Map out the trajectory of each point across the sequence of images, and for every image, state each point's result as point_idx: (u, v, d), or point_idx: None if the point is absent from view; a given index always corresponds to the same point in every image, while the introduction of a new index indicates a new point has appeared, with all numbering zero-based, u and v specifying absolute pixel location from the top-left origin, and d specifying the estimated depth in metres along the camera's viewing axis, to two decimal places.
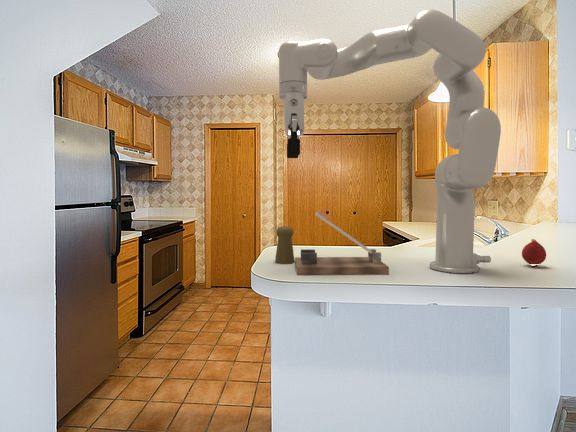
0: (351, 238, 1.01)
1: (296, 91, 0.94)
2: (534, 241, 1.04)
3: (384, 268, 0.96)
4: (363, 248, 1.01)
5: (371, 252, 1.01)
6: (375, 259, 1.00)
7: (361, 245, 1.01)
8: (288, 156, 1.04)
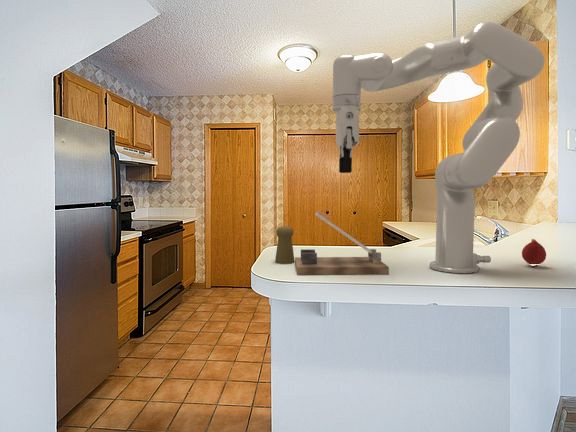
0: (351, 238, 1.01)
1: (351, 104, 0.96)
2: (534, 241, 1.04)
3: (384, 268, 0.96)
4: (363, 248, 1.01)
5: (371, 252, 1.01)
6: (375, 259, 1.00)
7: (361, 245, 1.01)
8: None
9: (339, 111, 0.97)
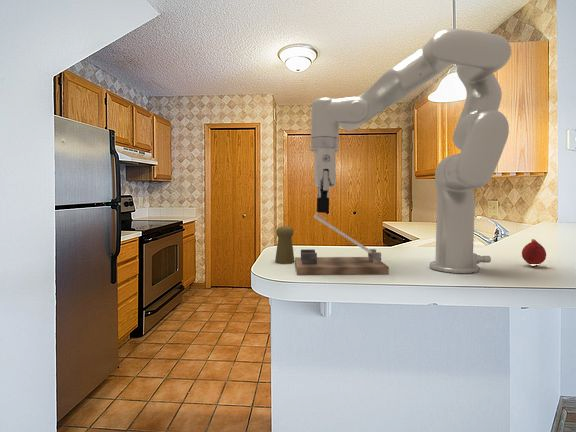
0: (350, 239, 1.01)
1: (328, 146, 0.97)
2: (534, 241, 1.04)
3: (384, 268, 0.96)
4: (363, 248, 1.01)
5: (371, 252, 1.01)
6: (375, 259, 1.00)
7: (361, 246, 1.01)
8: None
9: (316, 153, 0.98)
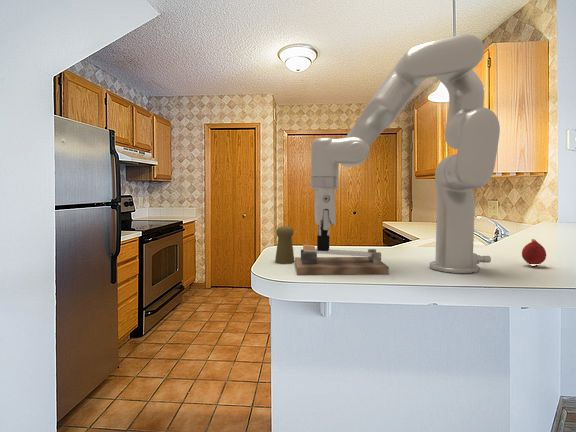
0: (345, 253, 1.01)
1: (328, 186, 0.97)
2: (534, 241, 1.04)
3: (384, 268, 0.96)
4: None
5: (370, 255, 1.01)
6: (375, 259, 1.00)
7: (358, 254, 1.01)
8: None
9: (316, 192, 0.99)
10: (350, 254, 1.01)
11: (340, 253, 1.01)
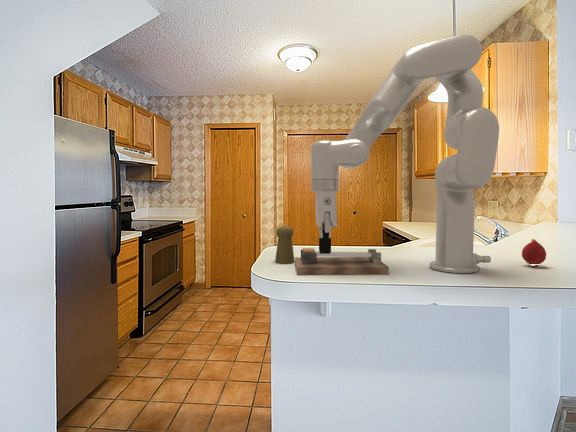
0: (345, 255, 1.01)
1: (329, 189, 0.97)
2: (534, 241, 1.04)
3: (384, 268, 0.96)
4: (361, 256, 1.01)
5: (370, 255, 1.01)
6: (375, 259, 1.00)
7: (358, 255, 1.01)
8: None
9: (317, 195, 0.99)
10: (350, 255, 1.01)
11: (340, 255, 1.01)
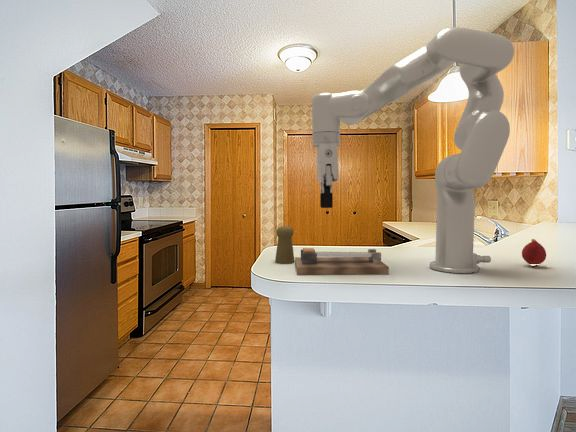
0: (345, 255, 1.01)
1: (330, 141, 0.97)
2: (534, 241, 1.04)
3: (384, 268, 0.96)
4: (361, 256, 1.01)
5: (370, 255, 1.01)
6: (375, 259, 1.00)
7: (358, 255, 1.01)
8: None
9: (318, 148, 0.98)
10: (350, 255, 1.01)
11: (340, 255, 1.01)
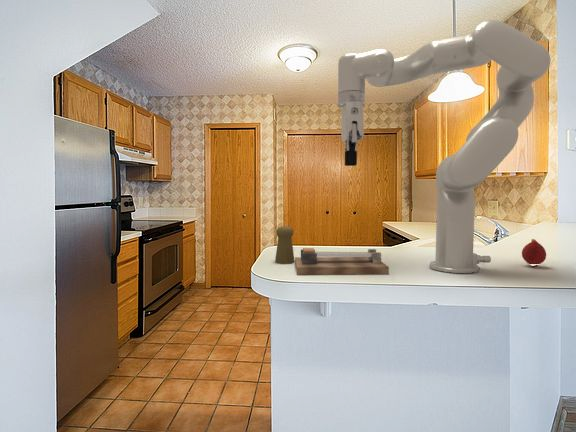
0: (345, 255, 1.01)
1: (356, 100, 1.01)
2: (534, 241, 1.04)
3: (384, 268, 0.96)
4: (361, 256, 1.01)
5: (370, 255, 1.01)
6: (375, 259, 1.00)
7: (358, 255, 1.01)
8: None
9: (344, 107, 1.02)
10: (350, 255, 1.01)
11: (340, 255, 1.01)
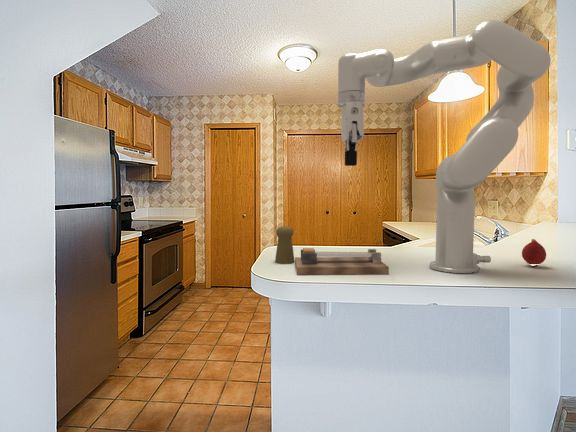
0: (345, 255, 1.01)
1: (356, 100, 1.01)
2: (534, 241, 1.04)
3: (384, 268, 0.96)
4: (361, 256, 1.01)
5: (370, 255, 1.01)
6: (375, 259, 1.00)
7: (358, 255, 1.01)
8: None
9: (344, 107, 1.02)
10: (350, 255, 1.01)
11: (340, 255, 1.01)
